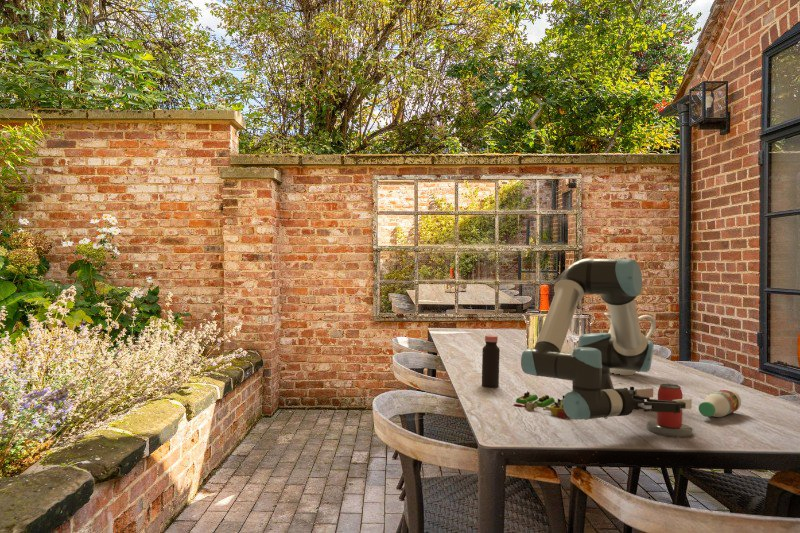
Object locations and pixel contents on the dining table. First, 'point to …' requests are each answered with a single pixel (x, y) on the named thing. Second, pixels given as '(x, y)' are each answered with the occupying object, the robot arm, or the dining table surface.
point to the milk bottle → (720, 403)
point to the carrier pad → (669, 430)
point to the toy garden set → (542, 404)
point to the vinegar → (490, 362)
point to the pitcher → (611, 331)
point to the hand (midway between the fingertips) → (670, 397)
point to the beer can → (669, 418)
